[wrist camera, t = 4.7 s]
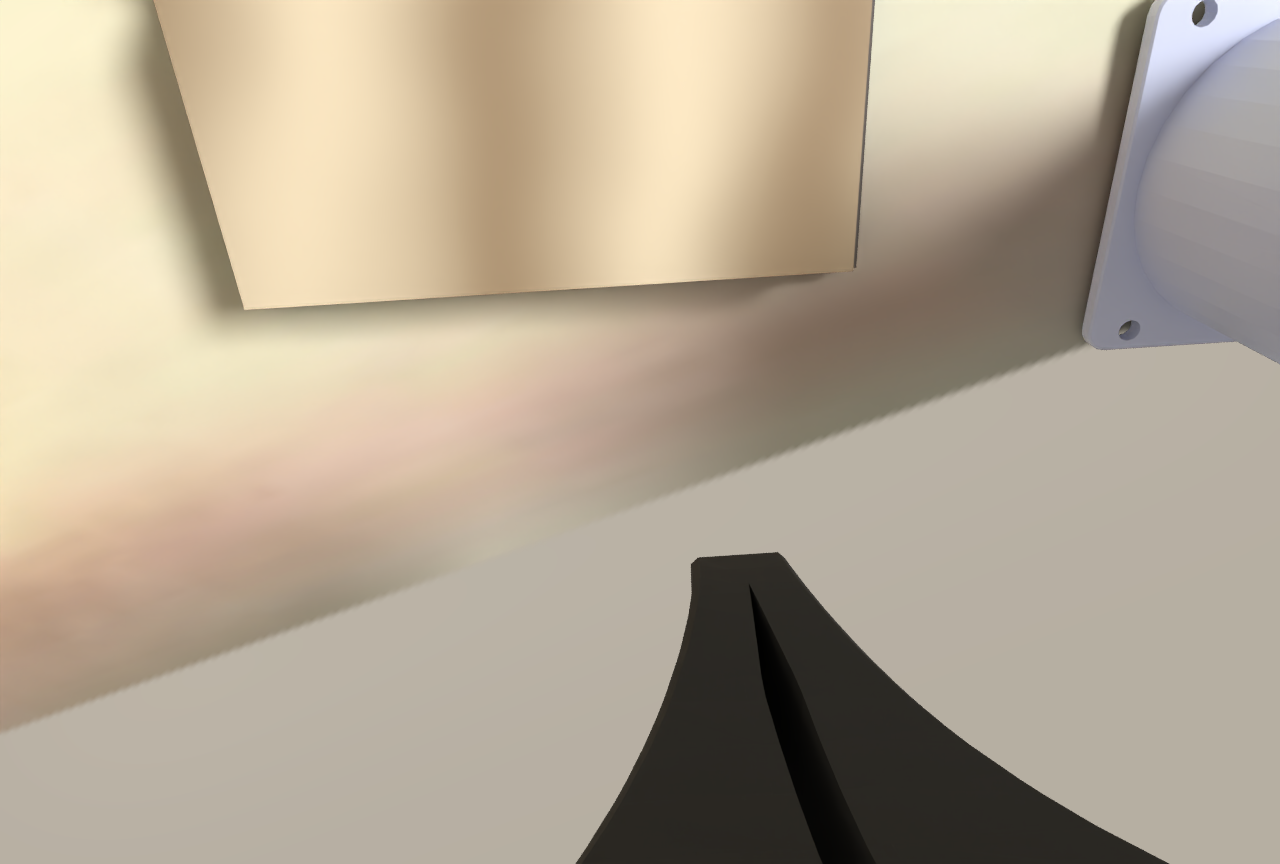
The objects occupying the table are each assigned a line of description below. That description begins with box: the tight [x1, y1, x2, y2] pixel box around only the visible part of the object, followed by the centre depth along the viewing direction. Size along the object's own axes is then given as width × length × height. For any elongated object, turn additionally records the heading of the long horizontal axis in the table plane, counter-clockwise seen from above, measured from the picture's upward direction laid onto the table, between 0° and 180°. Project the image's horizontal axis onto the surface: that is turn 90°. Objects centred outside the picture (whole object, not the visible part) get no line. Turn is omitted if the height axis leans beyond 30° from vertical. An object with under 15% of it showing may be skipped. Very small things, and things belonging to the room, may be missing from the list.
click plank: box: [153, 0, 872, 310], centre depth 17 cm, size 13×7×2 cm, turn 93°
